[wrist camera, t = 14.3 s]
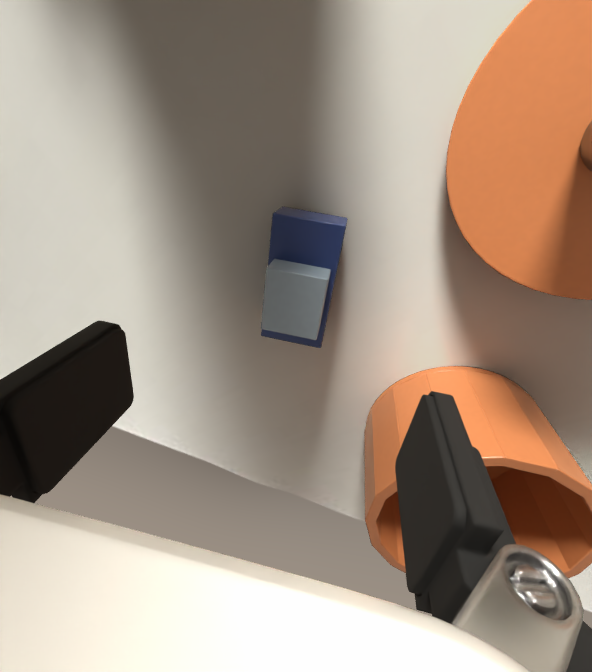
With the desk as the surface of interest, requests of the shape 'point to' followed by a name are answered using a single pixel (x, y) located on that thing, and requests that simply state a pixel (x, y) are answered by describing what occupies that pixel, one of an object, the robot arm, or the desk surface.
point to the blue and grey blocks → (301, 274)
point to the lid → (530, 151)
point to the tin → (499, 458)
